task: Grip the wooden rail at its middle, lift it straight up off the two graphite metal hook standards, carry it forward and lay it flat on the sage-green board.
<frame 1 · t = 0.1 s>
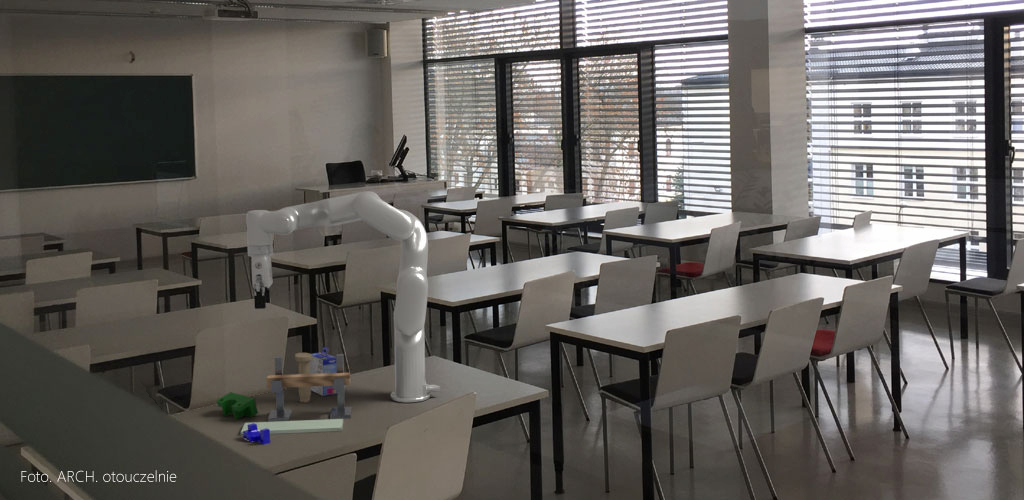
hand: (262, 305, 291), 31 cm above the table, fingers open, 9 cm apart
cable holder: (256, 442, 261), on the table
rail: (309, 385, 279), point 10 cm above the table, touching hook standards
clamp: (237, 416, 283), on the table
handle: (305, 402, 297), on the table
ink cartridge box: (323, 392, 308), on the table
board: (293, 428, 271), on the table
hook standards: (310, 417, 281), on the table
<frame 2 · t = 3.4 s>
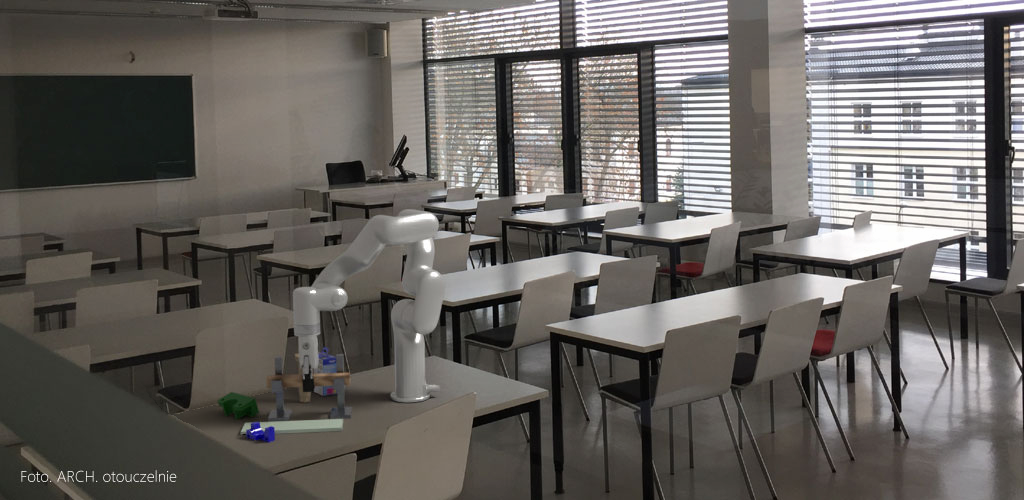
hand: (309, 389, 280), 9 cm above the table, fingers closed on rail, 3 cm apart
cable holder: (260, 440, 262), on the table, touching board
rail: (309, 385, 279), point 10 cm above the table, touching gripper, hook standards
everything else where it was.
when the fingers open (2 cm above the table, at t = 10.4 s): rail drops 2 cm, resting on board.
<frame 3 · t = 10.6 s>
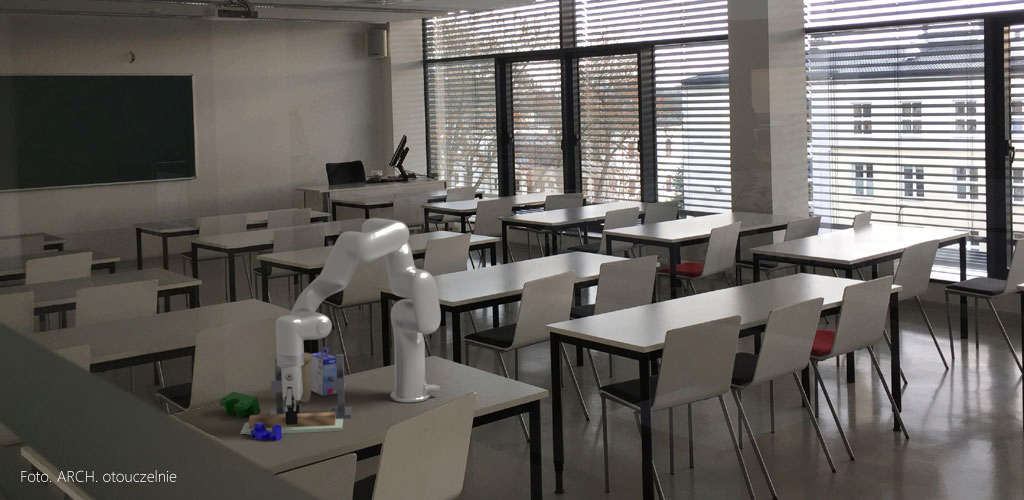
hand: (292, 420, 271), 2 cm above the table, fingers open, 4 cm apart
cable holder: (266, 440, 263), on the table
rail: (292, 425, 271), point 1 cm above the table, touching board
everything else where it was.
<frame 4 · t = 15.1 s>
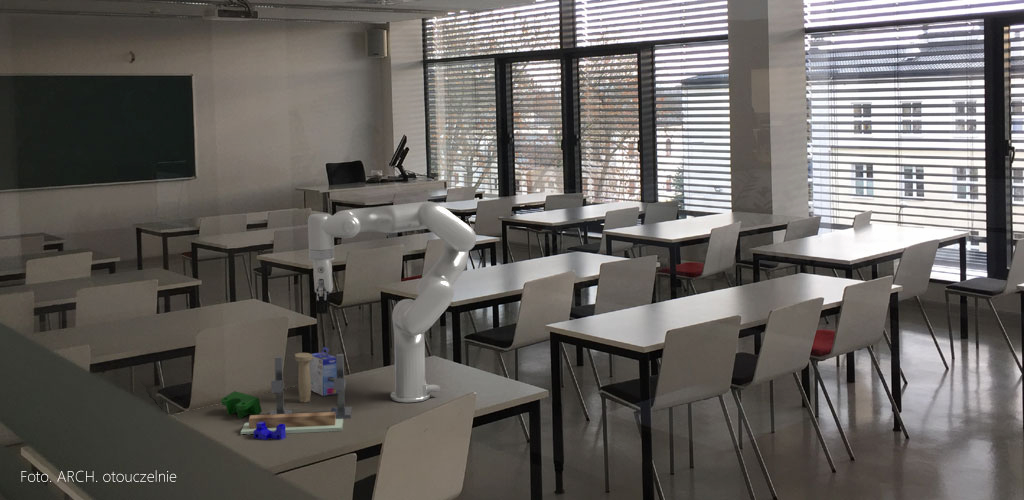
hand: (323, 310, 288), 30 cm above the table, fingers open, 9 cm apart
at the end: rail inside the target area on the board (0.1 cm from its centre), point 1.0 cm above the board's base; rail tilted 0°; the gripper is holding nothing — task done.
